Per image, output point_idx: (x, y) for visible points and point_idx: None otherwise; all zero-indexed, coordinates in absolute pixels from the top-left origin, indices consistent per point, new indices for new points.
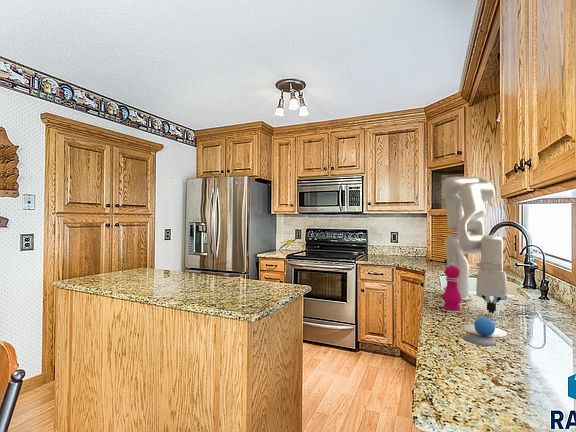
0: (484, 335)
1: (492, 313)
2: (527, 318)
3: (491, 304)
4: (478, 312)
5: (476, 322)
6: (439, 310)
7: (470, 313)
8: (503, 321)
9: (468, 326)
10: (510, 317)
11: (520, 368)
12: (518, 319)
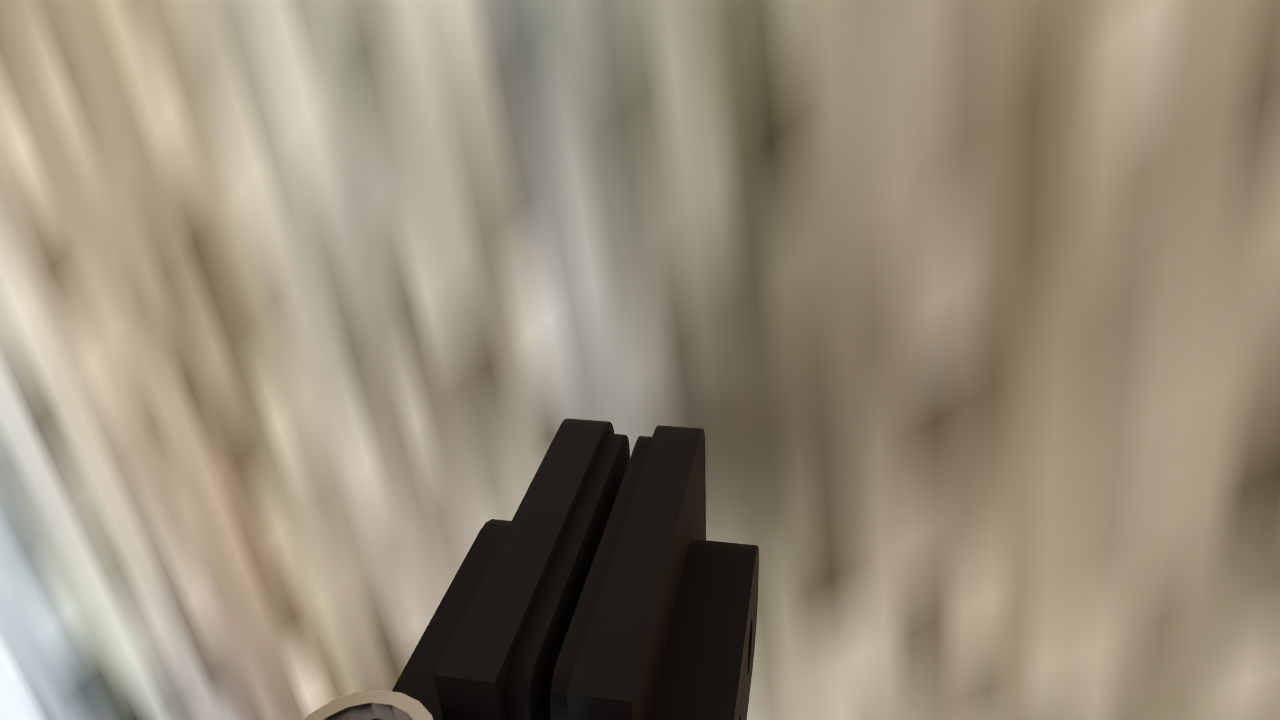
0: None
1: (593, 424)
2: (89, 662)
3: (528, 654)
4: (1006, 662)
5: None
6: None
7: (1273, 450)
8: (293, 90)
9: None
10: (309, 584)
11: None
12: (150, 513)
